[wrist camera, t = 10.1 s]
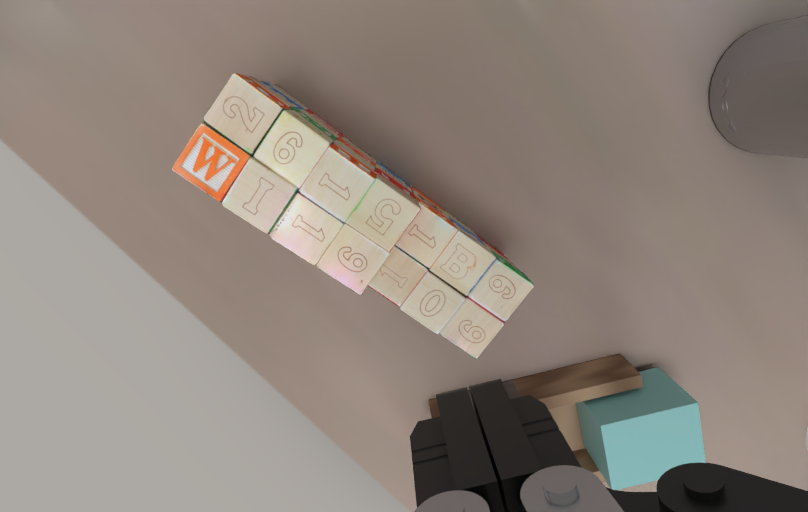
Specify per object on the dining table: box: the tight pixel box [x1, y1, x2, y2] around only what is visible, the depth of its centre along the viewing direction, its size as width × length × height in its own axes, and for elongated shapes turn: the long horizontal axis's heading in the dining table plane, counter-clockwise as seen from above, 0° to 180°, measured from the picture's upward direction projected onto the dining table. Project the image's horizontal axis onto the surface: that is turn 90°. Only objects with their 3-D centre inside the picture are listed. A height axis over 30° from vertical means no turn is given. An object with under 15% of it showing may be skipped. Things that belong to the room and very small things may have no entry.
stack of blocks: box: [172, 73, 534, 359], centre depth 38 cm, size 21×6×12 cm, turn 54°
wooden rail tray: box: [429, 354, 643, 482], centre depth 45 cm, size 16×8×8 cm, turn 103°
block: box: [576, 367, 706, 490], centre depth 45 cm, size 7×5×6 cm
